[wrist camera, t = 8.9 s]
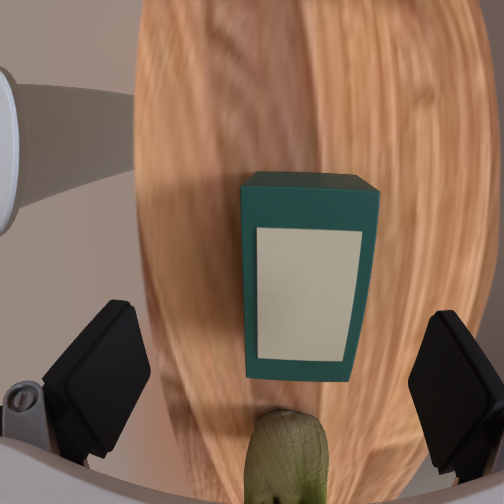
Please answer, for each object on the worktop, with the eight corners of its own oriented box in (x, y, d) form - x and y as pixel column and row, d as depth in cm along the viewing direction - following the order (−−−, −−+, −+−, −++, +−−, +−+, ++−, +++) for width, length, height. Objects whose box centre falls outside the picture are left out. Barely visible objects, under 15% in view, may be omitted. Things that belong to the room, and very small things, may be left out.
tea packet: (255, 171, 15) (238, 186, 11) (357, 175, 14) (381, 191, 10) (257, 326, 18) (245, 379, 14) (340, 329, 17) (349, 383, 13)
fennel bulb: (329, 402, 20) (330, 555, 9) (321, 438, 22) (317, 566, 11) (250, 400, 21) (217, 549, 10) (252, 435, 22) (227, 561, 11)
